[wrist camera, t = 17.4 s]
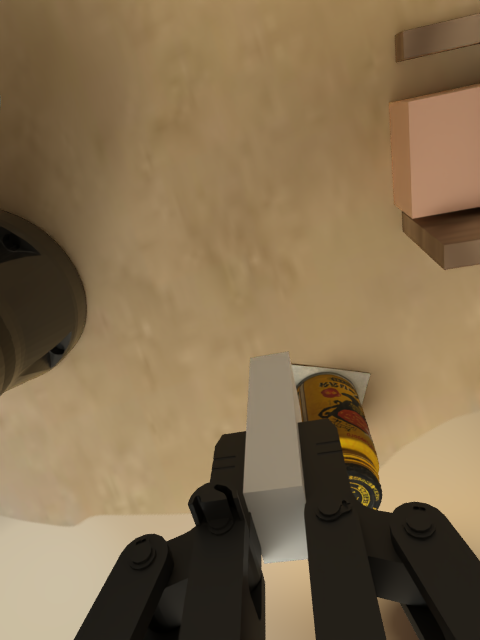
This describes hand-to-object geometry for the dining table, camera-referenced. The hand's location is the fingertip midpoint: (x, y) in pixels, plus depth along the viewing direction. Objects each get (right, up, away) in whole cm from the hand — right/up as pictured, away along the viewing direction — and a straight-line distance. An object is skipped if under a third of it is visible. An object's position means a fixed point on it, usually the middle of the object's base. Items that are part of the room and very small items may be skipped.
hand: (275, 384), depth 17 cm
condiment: (+6, -5, +24) cm, 26 cm away
